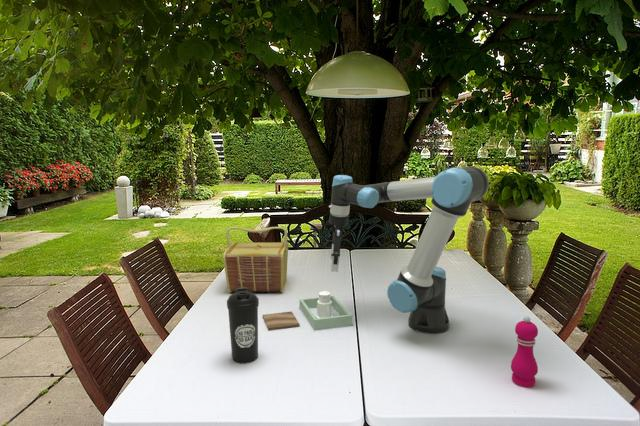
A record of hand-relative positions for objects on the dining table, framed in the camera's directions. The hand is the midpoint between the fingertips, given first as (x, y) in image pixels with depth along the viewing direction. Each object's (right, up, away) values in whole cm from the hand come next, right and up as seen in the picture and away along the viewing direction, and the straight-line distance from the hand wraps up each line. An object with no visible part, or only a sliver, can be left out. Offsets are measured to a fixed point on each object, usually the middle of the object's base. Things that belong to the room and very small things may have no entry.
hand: (334, 265), depth 188 cm
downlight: (-4, -21, -1) cm, 21 cm away
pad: (-21, -22, -6) cm, 31 cm away
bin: (-4, -21, -1) cm, 21 cm away
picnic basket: (-35, -15, +36) cm, 53 cm away
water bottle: (-30, -27, -35) cm, 53 cm away
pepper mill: (+54, -28, -53) cm, 80 cm away
